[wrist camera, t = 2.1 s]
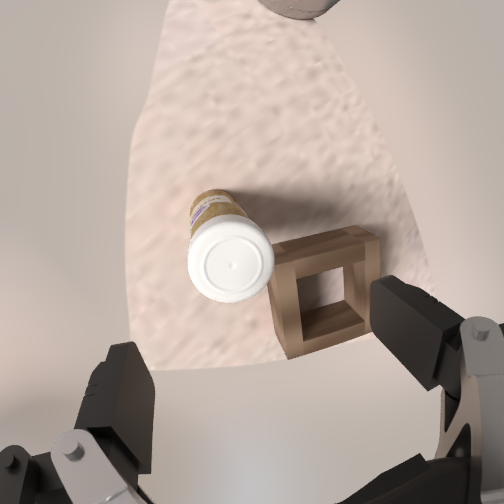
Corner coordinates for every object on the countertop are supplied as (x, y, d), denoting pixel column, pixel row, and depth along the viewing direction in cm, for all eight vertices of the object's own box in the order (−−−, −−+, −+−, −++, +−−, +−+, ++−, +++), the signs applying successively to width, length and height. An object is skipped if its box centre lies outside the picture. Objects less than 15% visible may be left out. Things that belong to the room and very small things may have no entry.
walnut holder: (260, 247, 30) (273, 265, 25) (354, 225, 31) (380, 238, 26) (275, 333, 33) (287, 359, 28) (357, 308, 34) (378, 329, 30)
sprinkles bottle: (200, 182, 26) (207, 207, 14) (246, 200, 28) (291, 240, 15) (182, 227, 27) (175, 290, 15) (227, 244, 29) (255, 315, 16)
